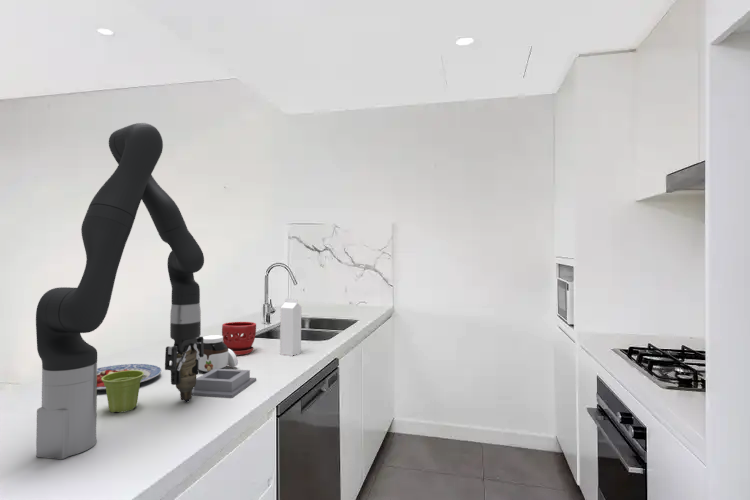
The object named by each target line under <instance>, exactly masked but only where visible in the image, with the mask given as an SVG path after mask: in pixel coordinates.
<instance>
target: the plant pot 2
mask: <svg viewBox="0 0 750 500" xmlns="http://www.w3.org/2000/svg"><path fill="white" fill-rule="evenodd" d="M221 328H222V329H221V336H223V342H224V343H225V344H226V345H227V347H228V349H231V350H232V351H233V352H234V353H235V355H236V356H242V355H247V354H250V353H252V352H253V351H254V346H253V344H254V342H255V340H256V339H255V338H256V334H257V323H256V322H252V321H231V322H225V323H223V324H222V326H221Z"/></svg>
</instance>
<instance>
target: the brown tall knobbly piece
mask: <svg viewBox="0 0 750 500" xmlns="http://www.w3.org/2000/svg"><path fill="white" fill-rule="evenodd" d="M183 353H184V352H183ZM196 354H197V351H196V350H192V351H191V349H190V350H189V351H187V352H186V355H187V356H186V360H185V362H184V363H182V366H181V369H180V370H181V380H180V384H179V385H175V387H176V389H177V390H178V392H179V395H180V398H179V399H180V401H184V402H185V403H189V402H190V400H192V398H193V395H192V390H193V388H194V387H195V385H196V378H197V375H196V374H195V373H193V372H192V368H193V367H194V366H195V365H196V361H195V360H196ZM181 356H183V354H182V355H180V354H177V358H182V357H181ZM177 365H178V362H177ZM177 365H176V366H177Z"/></svg>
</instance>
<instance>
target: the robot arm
mask: <svg viewBox="0 0 750 500" xmlns="http://www.w3.org/2000/svg"><path fill="white" fill-rule="evenodd" d="M108 147H109V150H110V152H111V154H112V157H113V158H114V159H115V161H116V163H117V164H118V165H117V166H116V169H115V170H114V172H113V173H112V174H111V175H110V177H109V178H108V179H107V180H106V181H105V182H104V184H103V185H102V186H101V187H100V188H99V190H98V191H97V192H96V194H94V196H93V198H92V200H91V201H90V203H89V206H88V208H87V209H86V213H85V215H84V218H83V220H82V224H81V229H80V230H81V239H82V243H83V248H84V251H85V257H86V258H85V259H86V263H85V267H84V271H83V274H82V276H81V279H80V282H79V283H78V286H76V287H67V286H66V287H65V286H64V287H62V286H61V287H54V288H51V289H48V290H47V291H46V292H44V294H43V295H41V297H40V299H39V301H38V303H37V307H36V312H35V330H36V331H35V333H36V349H37V354H38V357H39V358H40V360H41V364H42V365H41V369H42V370H41V377H42V378H41V407H39V408H37V410H36V434H35V435H36V438H35V439H36V440H35V446H36V451H35V454H36V455H35V456H36V457H37V458H46V459H47V458H48V459H56V460H57V459H59V460H64V459H66V458H68V457H70V456H74V455H77V454H81V453H83V452H86V451H88V450H90V449H91V448H93V447H94V446H95V445H96V443H97V412H98V411H97V408H98V407H97V405H98V398H97V397H98V396H97V395H98V393H97V392H98V390H97V368H98V350H97V349H96V348H95V346H93V345H91V344H89V342H86V340H84V338H83V337H82V335H81V334H87V333H92V332H95V330H97V329H98V328H99V327H100V326H101V324H102V323H103V322H104V320H105V318H106V316H107V314H108V310H109V308H110V303H111V299H112V295H113V291H114V285H115V280H116V278H117V277H116V276H117V272H118V271H119V266H120V263H121V259H122V257H123V253H124V250H125V247H126V244H127V242H128V239H129V237H130V234H131V231H132V229H133V225H134V222H135V221H136V216H137V213H138V210H139V207H140V204H141V202H142V203H143V204H144V206H145V208H146V210H147V212H148V213H149V216H150V218H151V220H152V222H153V225H154V227H155V229H156V231H157V233H158V236H159V237H160V239H161V241H163V242H164V243H166V244H168V245H169V247H170V249H171V251H170V252H169V255H168V256H167V257H168V258H167V271H168V277H169V278H168V279H169V282H170V286H171V305H170V307H171V309H170V315H169V316H170V317H169V318H170V323H169V324H170V327H169V328H170V329H169V330H170V331H169V332H170V333H169V334H170V337H169V338H171V340H173V341H174V343H173V345H171V346H166V347H165V355H164V356H165V357H164V361H165V362H164V370H165V371H170V384H171V385H172V386H176V385H179V384H180V380H181V370H180V369H181V366H182V363H184V362H185V360H186V356H187V355H186V352H187V351H189V350H190V349H191V351H192V350H196V351H197V354H196V360H195V361H196V365H195V366H194V367H193V368H192V372H193V373H195V374H196V376H198V375H199V361H200V358H201V357H203V356H204V345H203V337H204V336H201V329H202V328H201V326H202V325H201V320H202V319H201V316H202V315H201V313H202V311H201V302H200V301H201V288H200V285H199V283H198V282H197V281H196V280H195V276H194V275H195V274H194V273H197V272H200V270H202V268H203V267H204V263H205V256H204V253H203V251H202V250H203V249H202V248H201V246H200V245H199V243H198V242H197V240H196V238H195V237H194V236H193V235H192V233H191V232H190V231H189V229H188V227H187V223H186V221H185V220H184V217H183V215H182V212H181V210H180V208H179V206H178V205H177V203H176V202H175V200H174V199H173V198H172V197H171V196H170V195H169V193H167V192H166V191H165V190H164V188H162V187H161V186H160V184H159V183H158V182H157V181H156V179H155V178H154V176H153V175H152V173H153V172H154V170H155V168H156V166H157V164H158V161H159V160H160V158H161V156H162V154H163V150H164V149H163V148H164V142H163V137H162V135H161V133H160V131H159V130H158V128H157V127H155V126H154V125H152V124H149V123H146V122H138V123H137V122H136V123H133V124H130V125H129V124H128V125H126V126H124V127H122V128H119V129H116V130H114V131H113V132H112V133H111V134H110V136H109V138H108ZM198 349H200V353H199V351H198ZM183 352H184V353H183ZM177 354H180V355H182V354H183V356H181V357H182V358H177ZM170 362H171V363H170ZM177 362H178V365H177ZM176 365H177V366H176Z"/></svg>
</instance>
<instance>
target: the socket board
mask: <svg viewBox="0 0 750 500" xmlns="http://www.w3.org/2000/svg"><path fill="white" fill-rule="evenodd" d="M250 373H251V370H249V369H234V368H231V369H230V368H229V369H228V368H225V369H213V370H211V371H210V372H208V373H206V374H203V375H200V376H199V377H196V385H195V387H194V388H193V390H192V397H195V396H196V397H211V398H227V399H232V398H234V397H235V396H237V395H238V394H239V393H241V392H243V391H245V390H246V388H247V387H248V388H249V387H250V385H252V384H254V383H255V382H256V381H257V378H256V377H250V376H251V375H250Z"/></svg>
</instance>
